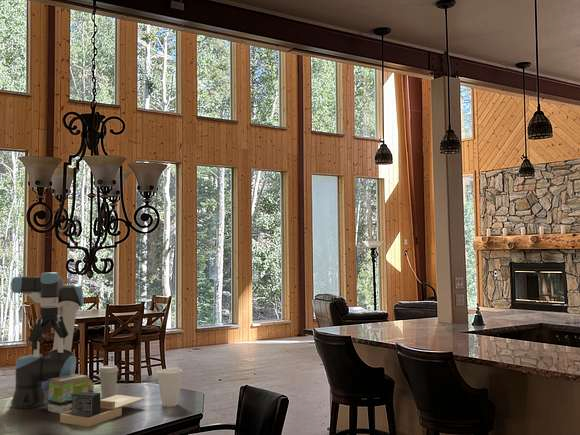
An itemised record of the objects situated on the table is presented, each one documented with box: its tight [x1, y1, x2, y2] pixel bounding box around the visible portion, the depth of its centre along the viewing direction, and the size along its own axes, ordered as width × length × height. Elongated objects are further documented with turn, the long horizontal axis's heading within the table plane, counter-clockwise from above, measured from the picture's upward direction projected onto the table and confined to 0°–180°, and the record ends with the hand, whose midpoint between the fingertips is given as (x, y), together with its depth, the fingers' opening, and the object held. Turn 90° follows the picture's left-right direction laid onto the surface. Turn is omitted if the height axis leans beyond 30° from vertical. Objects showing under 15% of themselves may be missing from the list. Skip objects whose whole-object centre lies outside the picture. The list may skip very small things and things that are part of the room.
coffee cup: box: [98, 364, 120, 399], centre depth 309 cm, size 10×10×15 cm
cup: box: [156, 368, 183, 408], centre depth 292 cm, size 12×12×16 cm
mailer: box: [59, 407, 123, 427], centre depth 268 cm, size 16×20×4 cm
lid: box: [100, 394, 146, 409], centre depth 282 cm, size 17×20×3 cm
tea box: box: [47, 373, 90, 414], centre depth 285 cm, size 15×10×15 cm, turn 148°
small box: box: [72, 391, 102, 418], centre depth 266 cm, size 11×6×10 cm, turn 75°
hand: (48, 354), depth 276 cm, fingers open, 13 cm apart
